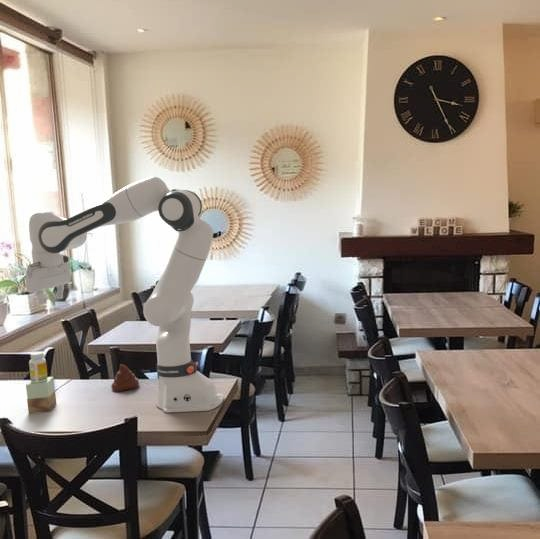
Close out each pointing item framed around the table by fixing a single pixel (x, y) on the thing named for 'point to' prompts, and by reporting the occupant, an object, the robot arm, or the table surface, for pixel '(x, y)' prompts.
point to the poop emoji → (124, 379)
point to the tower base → (42, 404)
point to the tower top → (40, 388)
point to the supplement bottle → (38, 367)
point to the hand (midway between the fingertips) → (51, 301)
